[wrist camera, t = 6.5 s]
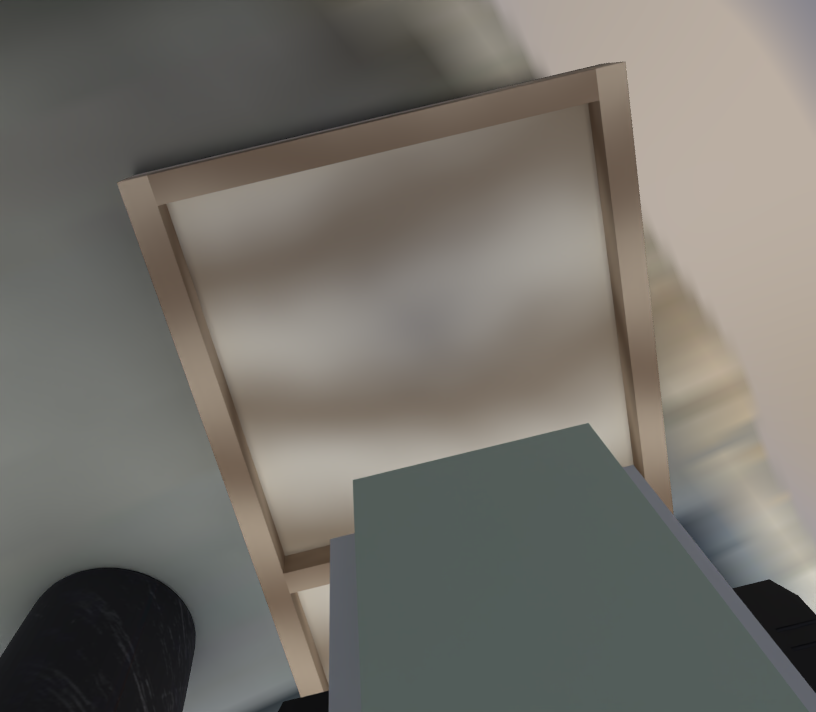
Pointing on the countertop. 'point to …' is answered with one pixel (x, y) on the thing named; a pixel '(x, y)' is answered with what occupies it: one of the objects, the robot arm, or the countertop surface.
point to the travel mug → (100, 648)
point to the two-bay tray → (404, 308)
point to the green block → (540, 592)
